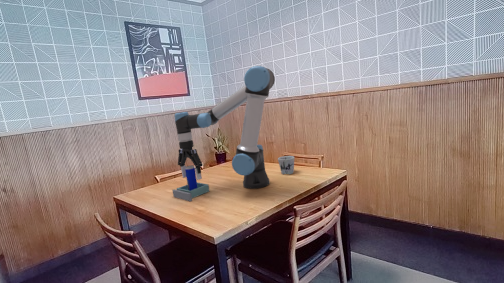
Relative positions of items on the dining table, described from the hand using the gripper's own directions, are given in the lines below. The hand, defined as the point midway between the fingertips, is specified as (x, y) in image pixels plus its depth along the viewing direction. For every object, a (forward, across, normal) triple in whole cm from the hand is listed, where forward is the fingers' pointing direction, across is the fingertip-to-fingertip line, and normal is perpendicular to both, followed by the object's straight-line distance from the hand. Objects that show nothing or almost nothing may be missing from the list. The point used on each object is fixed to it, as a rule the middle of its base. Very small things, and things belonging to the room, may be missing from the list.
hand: (192, 178), depth 154 cm
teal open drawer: (+9, +1, 0) cm, 9 cm away
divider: (+9, -1, +9) cm, 12 cm away
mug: (+10, -25, -54) cm, 61 cm away
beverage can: (+8, 0, 0) cm, 8 cm away
